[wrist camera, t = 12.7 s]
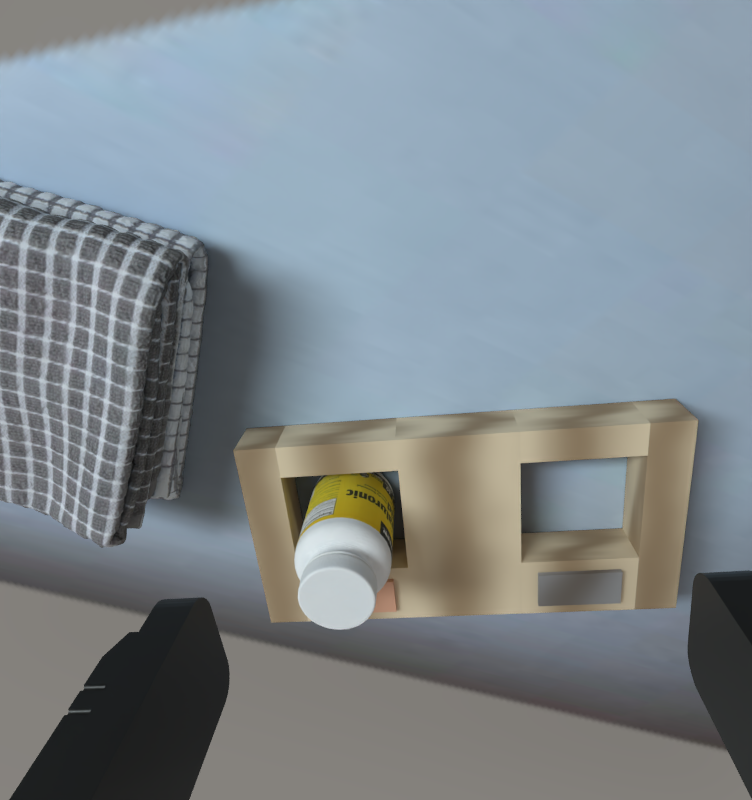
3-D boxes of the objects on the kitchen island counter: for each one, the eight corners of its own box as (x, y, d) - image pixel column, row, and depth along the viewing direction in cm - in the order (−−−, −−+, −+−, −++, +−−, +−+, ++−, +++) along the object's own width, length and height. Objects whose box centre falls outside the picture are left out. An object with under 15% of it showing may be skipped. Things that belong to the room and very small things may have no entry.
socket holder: (675, 398, 34) (701, 422, 31) (657, 575, 39) (677, 611, 36) (246, 428, 37) (231, 453, 34) (280, 591, 42) (270, 625, 39)
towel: (223, 231, 32) (168, 253, 25) (183, 500, 39) (131, 577, 32) (-49, 156, 32) (-185, 157, 24) (-40, 444, 39) (-144, 510, 32)
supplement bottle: (412, 503, 38) (411, 611, 29) (348, 543, 40) (330, 657, 31) (360, 444, 37) (342, 538, 28) (296, 488, 38) (260, 591, 29)
